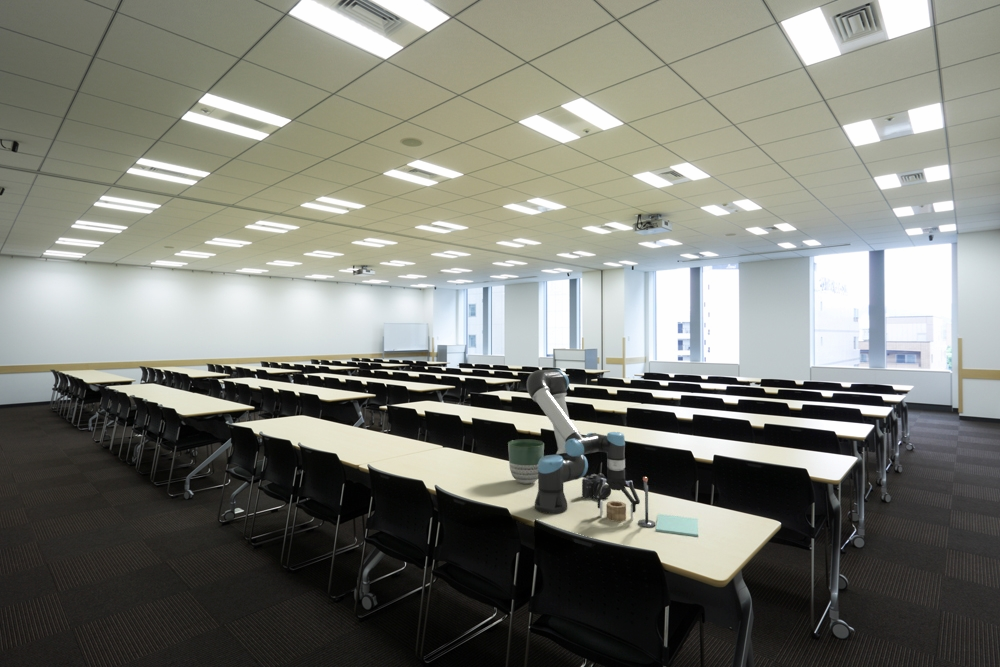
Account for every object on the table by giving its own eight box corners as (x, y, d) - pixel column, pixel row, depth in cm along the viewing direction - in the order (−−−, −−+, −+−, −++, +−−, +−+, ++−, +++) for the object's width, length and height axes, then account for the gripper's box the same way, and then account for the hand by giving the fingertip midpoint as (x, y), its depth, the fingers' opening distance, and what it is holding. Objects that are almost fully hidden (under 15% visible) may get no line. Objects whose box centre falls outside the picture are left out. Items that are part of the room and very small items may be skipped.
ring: (605, 520, 212) (605, 506, 212) (608, 513, 219) (608, 500, 219) (624, 522, 209) (624, 508, 209) (626, 515, 216) (626, 502, 216)
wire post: (636, 529, 201) (636, 476, 201) (638, 520, 211) (638, 470, 211) (654, 531, 199) (654, 478, 199) (655, 522, 208) (655, 471, 209)
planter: (506, 478, 275) (506, 439, 275) (540, 476, 277) (540, 438, 277) (510, 488, 256) (510, 447, 256) (547, 487, 258) (547, 446, 258)
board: (655, 531, 199) (655, 529, 199) (658, 515, 216) (658, 513, 216) (698, 536, 194) (698, 534, 194) (697, 520, 210) (697, 518, 210)
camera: (596, 502, 234) (596, 481, 234) (579, 496, 243) (579, 476, 243) (616, 496, 243) (615, 476, 243) (599, 491, 252) (599, 471, 252)
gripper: (586, 468, 215) (586, 517, 215) (644, 473, 206) (645, 524, 206) (589, 463, 222) (590, 511, 222) (646, 468, 213) (646, 518, 213)
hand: (616, 517), depth 214 cm, fingers open, 12 cm apart
